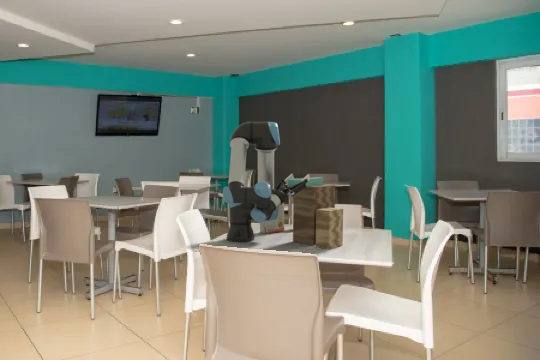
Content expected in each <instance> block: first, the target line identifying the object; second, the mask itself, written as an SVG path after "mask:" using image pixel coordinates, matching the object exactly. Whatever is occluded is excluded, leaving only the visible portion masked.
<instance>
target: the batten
mask: <svg viewBox="0 0 540 360" xmlns="http://www.w3.org/2000/svg"><path fill="white" fill-rule="evenodd" d="M303 178H304V177H301V178H294V179H288V184H287V188H288V187H292V186H294V185H296V184H298V183H300V182H301V180H302V179H303ZM321 185H324V177H310V180H309V181H308V182H307V183H306V186H307V187H308V186H321Z"/></svg>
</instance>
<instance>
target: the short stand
mask: <svg viewBox="0 0 540 360" xmlns="http://www.w3.org/2000/svg"><path fill="white" fill-rule="evenodd" d="M343 227H344V208H338V207H335V208H324V209H316V245H315V247H316V248H321V249H325V248H326V250H330V248H331V249H335V248H338V247H343V241H344V240H343V236H344V235H343V234H344V231H343V230H344V229H343Z"/></svg>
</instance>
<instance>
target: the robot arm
mask: <svg viewBox="0 0 540 360" xmlns="http://www.w3.org/2000/svg"><path fill="white" fill-rule="evenodd" d="M278 125H279V124H278V123H277V122H274V121H246V122H243V123H241V124H240V125H238V126H237V127H236V128H235V129H234V131H233V132H232V134H231V136H230V138H229V139H230V140H229V147H230V148H231V151H230V160H229V164H230V165H229V171H228V173H229V174H228V186H224V187H223V189H222V201H223V202H224V203H227V204H229V227H228V229H227V230H228V231H227V233H226V241H229V242H234V243H235V242H236V243H237V242H240V243H241V242H242V243H244V242H246V243H247V242H252V241H255V233H254V230H253V227H252V221H255V222H256V223H259V224H260V223H261V222H263V221H271V220H276V219H277V216H278V210H279V206H280V205H282V204H283V203H284V204H285V202H286V200H287V197H289V196H291V197H292V198H293V196H294V195H295V194H296V193H298V192H300V191H301V190H303V189H304V188H306V187H307V186H306V183H307V182H308V181H309V180H310V178H311V177H310V174H306V175H305V176H304V177H302V178H303V179H302V180H301V182H300V183H298V184H296V185H294V186H292V187H288V179H295V177H294V174H293V173H290V175H288V177H286V178H285V179H281V180H279V181H278V182H277V183H276V185H275V151H276V150H277V149H278V146H280V145H281V142H280V139H281V138H280V132H279V131H280V130H279V126H278ZM250 145H251V146H254V149H255V150H256V151H257V182H256V184H254V186H245V180H246V167H247V166H246V164H247V151H248V148H249V146H250ZM286 186H287V187H286Z"/></svg>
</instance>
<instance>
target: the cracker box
mask: <svg viewBox="0 0 540 360" xmlns="http://www.w3.org/2000/svg"><path fill="white" fill-rule="evenodd" d="M284 232H285V202H284V203H283V204H282V205H280V206H279V210H278V216H277V219H276V220H271V221H263V222H261V223H259V233H261V234H264V235H266V234H267V235H268V234H275V233H284Z"/></svg>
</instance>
